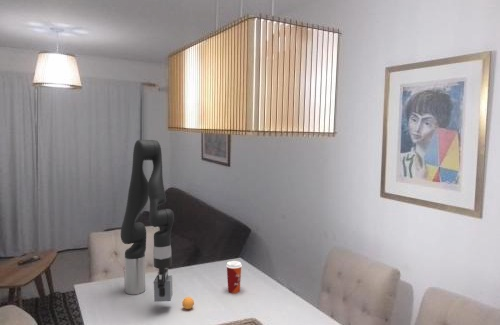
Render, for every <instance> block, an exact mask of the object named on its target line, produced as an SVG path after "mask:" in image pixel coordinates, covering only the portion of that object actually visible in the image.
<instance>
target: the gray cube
mask: <svg viewBox="0 0 500 325" xmlns="http://www.w3.org/2000/svg"><path fill="white" fill-rule="evenodd" d="M160 285H163V284H162V283H160ZM153 294H154V295H153V298H154V299H153V300H154V302H155V303H156V302H157V303H158V302H171V301H172V298H173V275H171V274H168V276H167V277H166V282H165V296H164V297H160V296H159V288H158V277H157V275H156V276H155V277H154V280H153Z"/></svg>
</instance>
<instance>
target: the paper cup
mask: <svg viewBox="0 0 500 325" xmlns="http://www.w3.org/2000/svg"><path fill="white" fill-rule="evenodd" d="M225 266H226V272H227V273H226V275H227V276H226V277H227V278H226V279H227V289H228V290H227V291H228V293H230V294H238V293H240V292H241V281H242V267H243V265H242V263H241V262H240V261H238V260H230V261H228V262H227V263H226V265H225Z"/></svg>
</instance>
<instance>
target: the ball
mask: <svg viewBox="0 0 500 325" xmlns="http://www.w3.org/2000/svg"><path fill="white" fill-rule="evenodd" d="M194 305H195V301H194V299H193V298H192V297H190V296H187V297H185V298H183V299H182V305H181V306H182V307H183V308H184V309H185V310H190V309H192V308H193V307H194Z"/></svg>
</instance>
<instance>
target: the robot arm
mask: <svg viewBox="0 0 500 325" xmlns="http://www.w3.org/2000/svg"><path fill="white" fill-rule="evenodd" d="M144 161H152V166H153V167H152V171H151V174H150V177H149V180H148V179H147V177H146V175H145V173H144V168H143V166H144ZM163 176H164V175H163V157H162V148H161V144H160V142H159V141H158V140H155V139H138V140H136V141H135V143H134V147H133V152H132V166H131V175H130V182H129V186H128V187H129V188H128V193H127V202H126V208H125V212H124V216H123V220H122V224H121V226H120V227H121V228H120V240H121V242H122V243H123V244H125V245H131V244H132V245H131V246H129V247H128V248H127V249H126V250H125V251H124V271H123V274H124V275H123V278H124V280H123V281H124V282H123V283H124V288H123V290H124V291H125V293H126V294H128V295H138V294H143V293H144V292H145V291H146V256H145V254H146V248H147V229H146V226H145V224H144V223H143V222H136V220H137V218H138V216H139V214H140V213H141V212H142V211H143V209H144V208H145V207H146V205H147V203H148V202H149V214H148V222H149V223H148V224H150V226H152V227H153V228H157V227H158V228H159V227H162V228H161V229H159V230H157V231H156V232H154V233H153V267H154V268H156V269H158V271H157V275H156V276H157V277H158V288H159V296H160V297H164V296H165V282H166V277H167V276H168V275H169V268H170V267H171V266H172V262H173V261H172V246H171V233H172V229H173V225H174V221H175V214H174V211H173V210H172V209H170V208H163V209H158V207H159V206H161V205H164V204H166V202H167V195H166V190H165V185H164V179H163ZM160 283H162V284H163V285H160Z"/></svg>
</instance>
